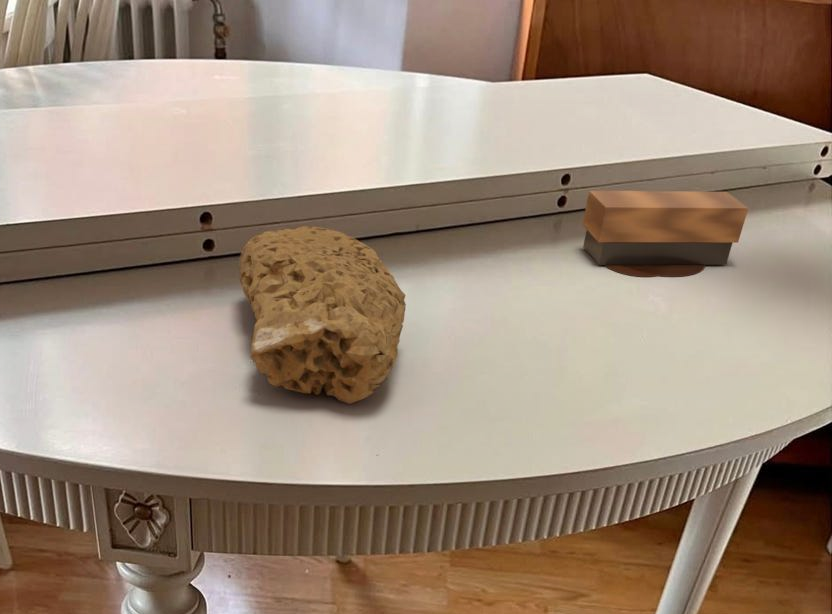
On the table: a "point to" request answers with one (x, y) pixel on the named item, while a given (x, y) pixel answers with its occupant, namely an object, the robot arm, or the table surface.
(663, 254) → the brush
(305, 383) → the sponge
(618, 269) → the coffee spill
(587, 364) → the table surface
